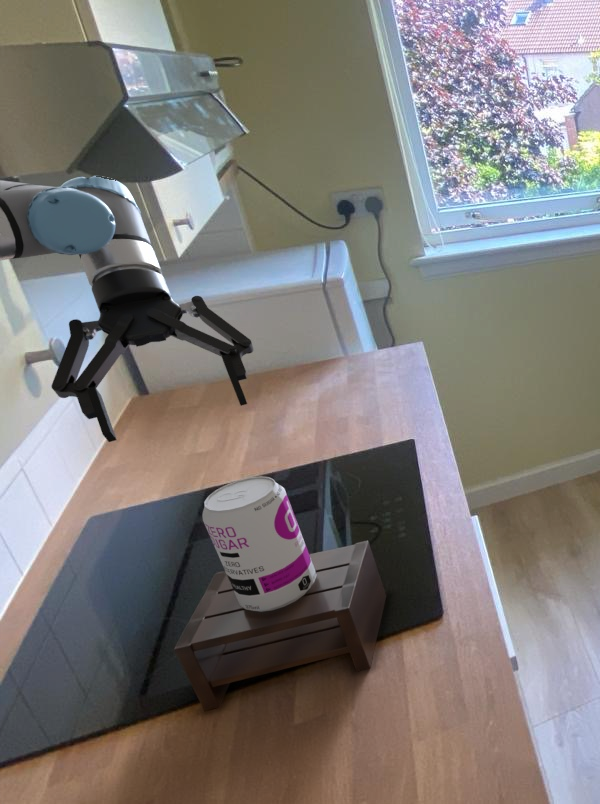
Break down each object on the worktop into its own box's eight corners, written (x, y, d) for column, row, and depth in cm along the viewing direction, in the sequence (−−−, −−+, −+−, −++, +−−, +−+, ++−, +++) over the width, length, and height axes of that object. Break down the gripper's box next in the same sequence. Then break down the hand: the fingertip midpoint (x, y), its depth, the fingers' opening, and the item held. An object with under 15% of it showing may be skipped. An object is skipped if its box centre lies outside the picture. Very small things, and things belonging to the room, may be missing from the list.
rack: (204, 711, 88) (173, 649, 84) (241, 630, 100) (215, 572, 96) (370, 668, 94) (348, 608, 90) (386, 596, 106) (368, 540, 102)
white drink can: (324, 563, 97) (289, 468, 91) (308, 605, 90) (269, 505, 84) (254, 578, 95) (213, 481, 89) (231, 622, 88) (185, 520, 82)
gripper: (243, 275, 109) (293, 398, 105) (9, 319, 94) (57, 464, 90) (236, 247, 103) (289, 376, 99) (-15, 289, 88) (35, 443, 84)
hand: (179, 418), depth 94 cm, fingers open, 13 cm apart
